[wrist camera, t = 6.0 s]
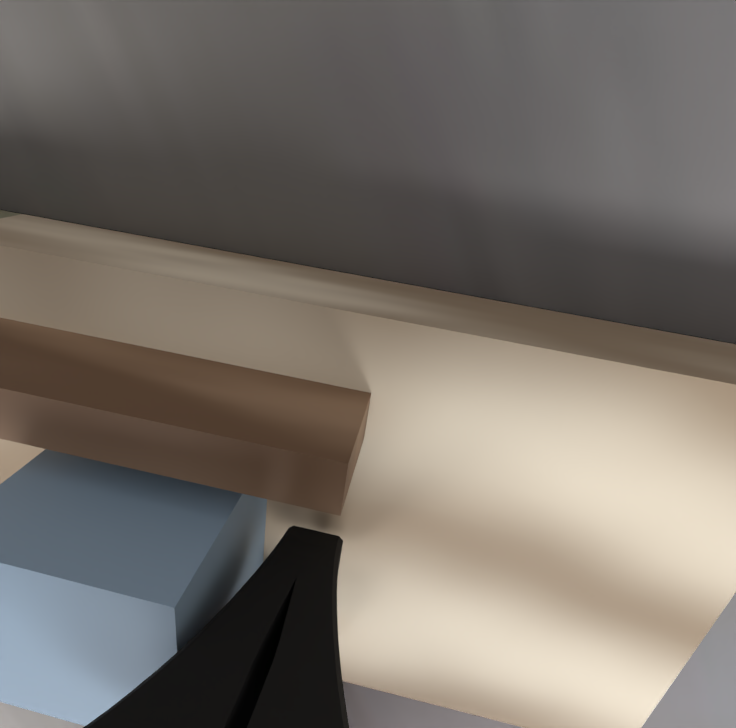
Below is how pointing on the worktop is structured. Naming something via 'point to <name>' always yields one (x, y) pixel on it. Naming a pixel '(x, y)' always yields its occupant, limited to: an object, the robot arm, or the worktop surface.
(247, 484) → the board
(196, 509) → the block
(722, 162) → the worktop surface
